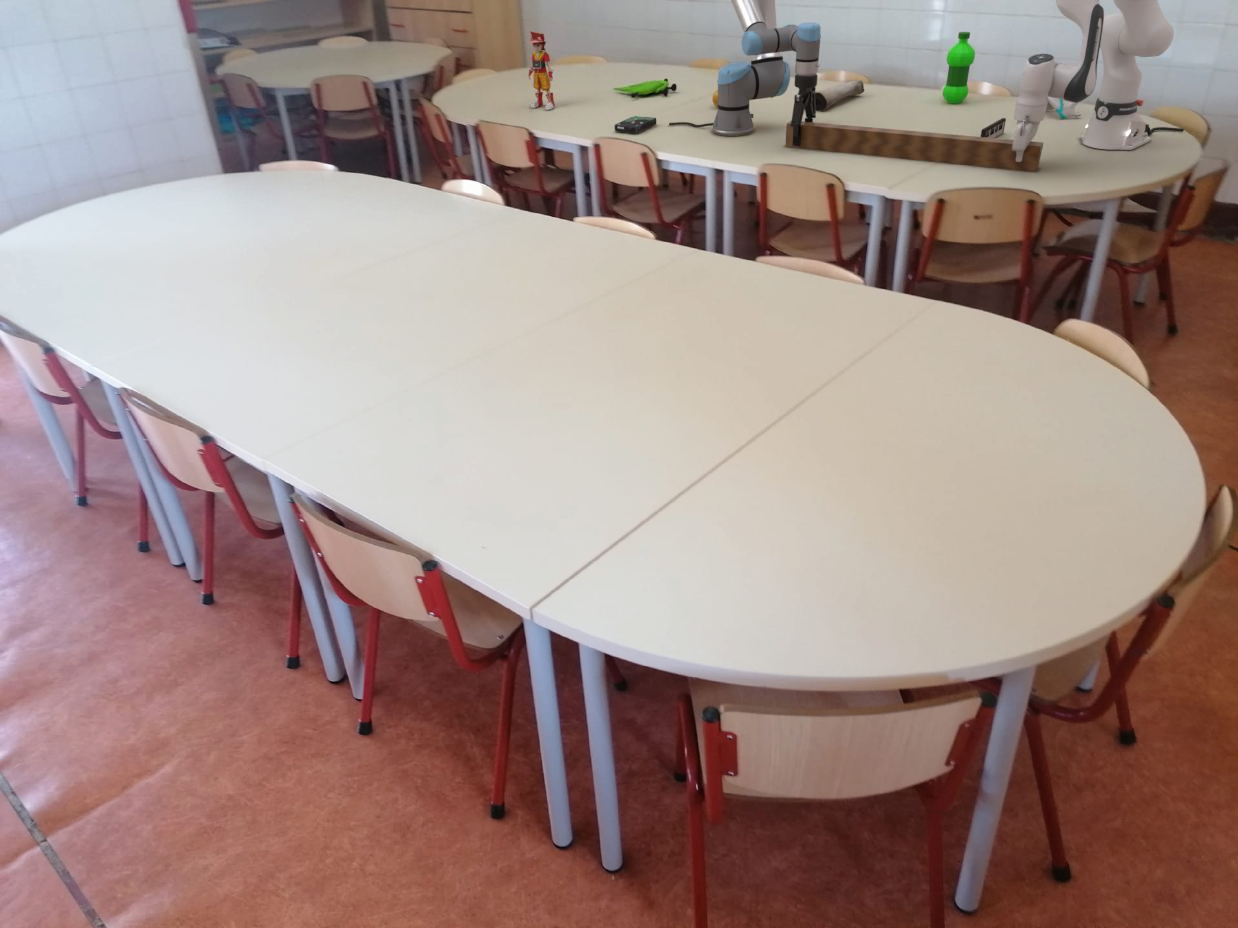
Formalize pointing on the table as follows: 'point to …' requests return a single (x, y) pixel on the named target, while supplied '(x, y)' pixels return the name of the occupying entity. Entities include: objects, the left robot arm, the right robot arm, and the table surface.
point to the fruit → (715, 98)
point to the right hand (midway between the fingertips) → (1020, 158)
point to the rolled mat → (837, 93)
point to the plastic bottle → (958, 69)
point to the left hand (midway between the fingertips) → (802, 141)
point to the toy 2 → (648, 88)
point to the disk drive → (635, 124)
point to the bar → (916, 145)
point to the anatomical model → (1062, 108)
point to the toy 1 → (541, 71)
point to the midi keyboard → (994, 129)
